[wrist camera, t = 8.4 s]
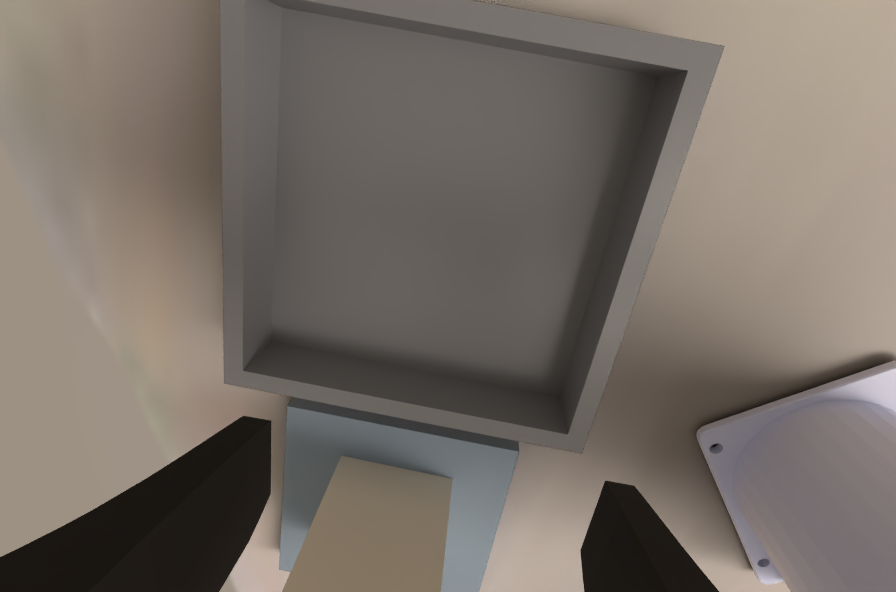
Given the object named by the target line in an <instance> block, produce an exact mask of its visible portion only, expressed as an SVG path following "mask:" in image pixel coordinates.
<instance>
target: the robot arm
mask: <svg viewBox="0 0 896 592" xmlns="http://www.w3.org/2000/svg"><path fill="white" fill-rule="evenodd" d="M696 437H697V440H698V442H699V445H700V447H701V449H702V452H703V454H704V456H705V459H706V461H707V463H708V466H709V468H710V470H711V473H712V475H713V477H714V480H715V482H716V484H717V487H718V489H719V491H720V494H721V496H722V498H723V501H724V503H725V505H726V508H727V510H728V512H729V515H730V517H731V519H732V522H733V524H734V526H735V529H736V531H737V533H738V536H739V538H740V540H741V543H742V545H743V547H744V550H745V552H746V554H747V557H748V559H749V561H750V564H751V566H752V568H753V571H754V573H755V575H756V577H757V578H758V580H759V581H760V582H761V583H763V584H768V585H769V584H775V583H779V582H783V581H785V583H786V584H787V586H788V588H789V589H790V591H791V592H896V360H895V361H891V362H888V363H885V364H882V365H879V366H876V367H873V368H871V369H868V370H865V371H862V372H859V373H856V374H853V375H850V376H847V377H844V378H841V379H838V380H835V381H833V382H830V383H827V384H824V385H821V386H818V387H815V388H812V389H809V390H806V391H803V392H800V393H797V394H795V395H792V396H789V397H786V398H783V399H780V400H777V401H774V402H771V403H768V404H765V405H762V406H759V407H757V408H754V409H751V410H748V411H745V412H742V413H739V414H736V415H733V416H730V417H727V418H724V419H721V420H719V421H716V422H713V423H710V424H707V425H704V426H702V427H701V428H700V429H699V430H698V431H697V434H696ZM717 443H718V445H717V446H715V447H711V445H713V444H717ZM710 447H711V448H710ZM270 494H271V421H269V420H264V419H258V418H252V417H247V416H243V417H241V418H239V419H238V420H236V421H235V422H233V423H232V424H230V425H229V426H227V427H226V428H224V429H222V430H221V431H219V432H218V433H216V434H215V435H213V436H212V437H210V438H209V439H207V440H206V441H204V442H203V443H201V444H200V445H198V446H197V447H195V448H193V449H192V450H190V451H189V452H187V453H186V454H184V455H183V456H181V457H180V458H178V459H177V460H175V461H173V462H172V463H170V464H169V465H167V466H165V467H164V468H162V469H161V470H159V471H158V472H156V473H154V474H153V475H151V476H150V477H148V478H147V479H145V480H143V481H142V482H140V483H138V484H136V485H135V486H133V487H131V488H129V489H128V490H126V491H124V492H123V493H121V494H119V495H118V496H116V497H114V498H113V499H111V500H109V501H108V502H106V503H104V504H102V505H100V506H99V507H97V508H95V509H94V510H92V511H90V512H88V513H86V514H85V515H83V516H81V517H79V518H77V519H75V520H73V521H72V522H70V523H68V524H66V525H64V526H62V527H60V528H58V529H56V530H54V531H53V532H51V533H48V534H46V535H45V536H42V537H41V538H38V539H37V540H35V541H33V542H31V543H29V544H27V545H25V546H23V547H21V548H19V549H17V550H15V551H12V552H10V553H8V554H6V555H4V556H2V557H0V592H219V591H220V589H221V588H222V586H223V584H224V583H225V581H226V579H227V578H228V576H229V574H230V573H231V571H232V569H233V567H234V566H235V564H236V562H237V561H238V559H239V557H240V556H241V554H242V552H243V550H244V549H245V547H246V545H247V544H248V542H249V540H250V538H251V536H252V534H253V532H254V529H255V527H256V525H257V523H258V521H259V519H260V516H261V514H262V512H263V510H264V507H265V505H266V503H267V501H268V498H269V496H270ZM581 561H582V572H583V582H584V591H585V592H719V591H718V590H717V588H716V587H715V586H714V585H713V584H712V582H711V581H710V580H709V579H708V578H707V576H706V575H705V574H704V573H703V572H702V570H701V569H700V568H699V567H698V566H697V564H696V563H695V562H694V561H693V559H692V558H691V557H690V556H689V554H688V553H687V552H686V551H685V549H684V548H683V547H682V546H681V544H680V543H679V542H678V541H677V539H676V538H675V537H674V536H673V534H672V533H671V532H670V530H669V529H668V528H667V527H666V525H665V524H664V523H663V522H662V520H661V519H660V518H659V516H658V515H657V514H656V513H655V511H654V510H653V509H652V507H651V506H650V505H649V504H648V502H647V501H646V500H645V499H644V497H643V496H642V495H641V494H640V492H639V491H638V490H637V489H636V487H635V486H632V485H626V484H621V483H615V482H610V481H605V483H604V486H603V489H602V491H601V494H600V497H599V500H598V503H597V506H596V508H595V511H594V514H593V517H592V520H591V522H590V525H589V528H588V531H587V534H586V537H585V539H584V542H583V545H582V548H581Z"/></svg>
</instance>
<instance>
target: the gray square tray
mask: <svg viewBox="0 0 896 592" xmlns="http://www.w3.org/2000/svg"><path fill="white" fill-rule="evenodd" d="M724 47H725V46H722V45H717V44H711V43H706V42H700V41H695V40H689V39H684V38H678V37H673V36H667V35H662V34H656V33H651V32H645V31H640V30H634V29H629V28H623V27H618V26H612V25H607V24H601V23H596V22H590V21H585V20H579V19H574V18H568V17H563V16H557V15H552V14H546V13H541V12H535V11H530V10H524V9H519V8H513V7H508V6H502V5H497V4H491V3H485V2H480V1H474V0H220V70H221V159H222V249H223V338H224V384H230V385H235V386H240V387H245V388H250V389H255V390H260V391H265V392H270V393H275V394H280V395H285V396H291V397H296V398H301V399H306V400H311V401H316V402H321V403H326V404H331V405H336V406H341V407H346V408H352V409H357V410H362V411H367V412H372V413H377V414H382V415H387V416H392V417H397V418H402V419H408V420H413V421H418V422H423V423H428V424H433V425H438V426H443V427H448V428H453V429H458V430H463V431H469V432H474V433H479V434H484V435H489V436H494V437H499V438H504V439H509V440H514V441H519V442H524V443H530V444H535V445H540V446H545V447H550V448H555V449H560V450H565V451H570V452H575V453H580V454H582V452H583V449H584V446H585V444H586V441H587V438H588V435H589V432H590V429H591V426H592V424H593V421H594V418H595V415H596V412H597V409H598V406H599V404H600V401H601V398H602V395H603V392H604V389H605V386H606V384H607V381H608V378H609V375H610V372H611V369H612V366H613V364H614V361H615V358H616V355H617V352H618V349H619V347H620V344H621V341H622V338H623V335H624V332H625V329H626V327H627V324H628V321H629V318H630V315H631V312H632V309H633V307H634V304H635V301H636V298H637V295H638V292H639V289H640V287H641V284H642V281H643V278H644V275H645V272H646V269H647V267H648V264H649V261H650V258H651V255H652V252H653V249H654V247H655V244H656V241H657V238H658V235H659V232H660V229H661V227H662V224H663V221H664V218H665V215H666V212H667V209H668V207H669V204H670V201H671V198H672V195H673V192H674V189H675V187H676V184H677V181H678V178H679V175H680V172H681V170H682V167H683V164H684V161H685V158H686V155H687V152H688V150H689V147H690V144H691V141H692V138H693V135H694V132H695V130H696V127H697V124H698V121H699V118H700V115H701V112H702V110H703V107H704V104H705V101H706V98H707V95H708V92H709V90H710V87H711V84H712V81H713V78H714V75H715V72H716V70H717V67H718V64H719V61H720V58H721V55H722V52H723V50H724Z"/></svg>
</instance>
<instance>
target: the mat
mask: <svg viewBox="0 0 896 592" xmlns="http://www.w3.org/2000/svg"><path fill="white" fill-rule="evenodd" d="M518 454H519V444H518V441H514V440H509V439H504V438H499V437H494V436H489V435H484V434H479V433H474V432H469V431H463V430H458V429H453V428H448V427H443V426H438V425H433V424H428V423H423V422H418V421H413V420H408V419H402V418H397V417H392V416H387V415H382V414H377V413H372V412H367V411H362V410H357V409H352V408H346V407H341V406H336V405H331V404H326V403H321V402H316V401H311V400H306V399H301V398H296V397H293V398H292V400H291V401H290V403H289V404H288V406H287V419H286V439H285V459H284V479H283V500H282V520H281V540H280V560H279V570H284V571H289V572H291V570H292V568H293V566H294V563H295V561H296V559H297V557H298V554H299V552H300V550H301V547H302V545H303V543H304V540H305V538H306V536H307V534H308V531H309V529H310V527H311V524H312V522H313V520H314V517H315V515H316V513H317V511H318V508H319V506H320V504H321V501H322V499H323V497H324V494H325V492H326V490H327V487H328V485H329V483H330V481H331V478H332V476H333V474H334V471H335V469H336V467H337V464H338V462H339V460H340V458H341V456H345V457H350V458H355V459H360V460H365V461H369V462H374V463H379V464H384V465H389V466H394V467H398V468H403V469H408V470H413V471H418V472H422V473H427V474H432V475H437V476H442V477H447V478H451V479H453V481H452V491H451V500H450V510H449V519H448V529H447V538H446V548H445V557H444V567H443V576H442V586H441V592H479V590H480V587H481V583H482V580H483V576H484V573H485V569H486V566H487V562H488V559H489V555H490V552H491V548H492V545H493V541H494V538H495V534H496V531H497V527H498V524H499V520H500V517H501V513H502V510H503V506H504V503H505V499H506V496H507V492H508V489H509V485H510V482H511V478H512V475H513V471H514V468H515V464H516V461H517V457H518Z"/></svg>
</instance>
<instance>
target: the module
mask: <svg viewBox="0 0 896 592" xmlns="http://www.w3.org/2000/svg"><path fill="white" fill-rule="evenodd" d="M452 481H453V479H451V478H447V477H442V476H437V475H432V474H427V473H422V472H418V471H413V470H408V469H403V468H398V467H394V466H389V465H384V464H379V463H374V462H369V461H365V460H360V459H355V458H350V457H345V456H341V458H340V460H339V462H338V464H337V467H336V469H335V471H334V474H333V476H332V478H331V481H330V483H329V485H328V487H327V490H326V492H325V494H324V497H323V499H322V501H321V504H320V506H319V508H318V511H317V513H316V515H315V517H314V520H313V522H312V524H311V527H310V529H309V531H308V534H307V536H306V538H305V540H304V543H303V545H302V547H301V550H300V552H299V554H298V557H297V559H296V561H295V563H294V566H293V568H292V570H291V573H290V575H289V577H288V580H287V582H286V584H285V587H284V589H283V591H282V592H441V586H442V576H443V567H444V557H445V548H446V538H447V529H448V519H449V510H450V500H451V491H452Z"/></svg>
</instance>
